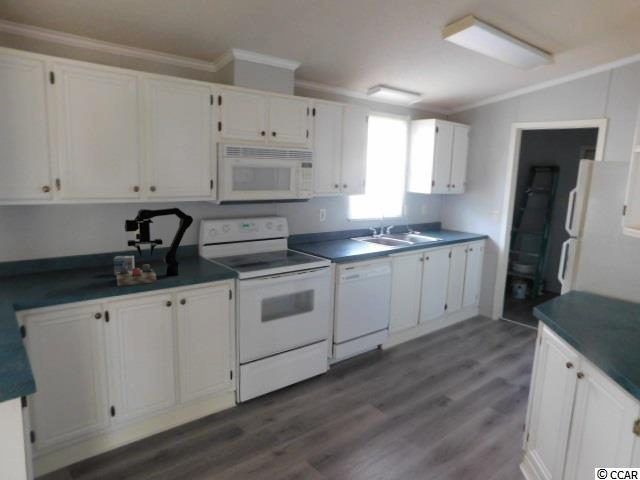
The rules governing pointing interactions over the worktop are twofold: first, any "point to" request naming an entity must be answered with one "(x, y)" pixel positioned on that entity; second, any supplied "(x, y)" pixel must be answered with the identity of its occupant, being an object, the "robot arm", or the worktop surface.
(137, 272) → the red plug
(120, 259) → the light bulb box
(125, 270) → the grey plug
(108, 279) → the worktop surface
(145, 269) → the grey plug
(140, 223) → the robot arm
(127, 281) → the plug board
